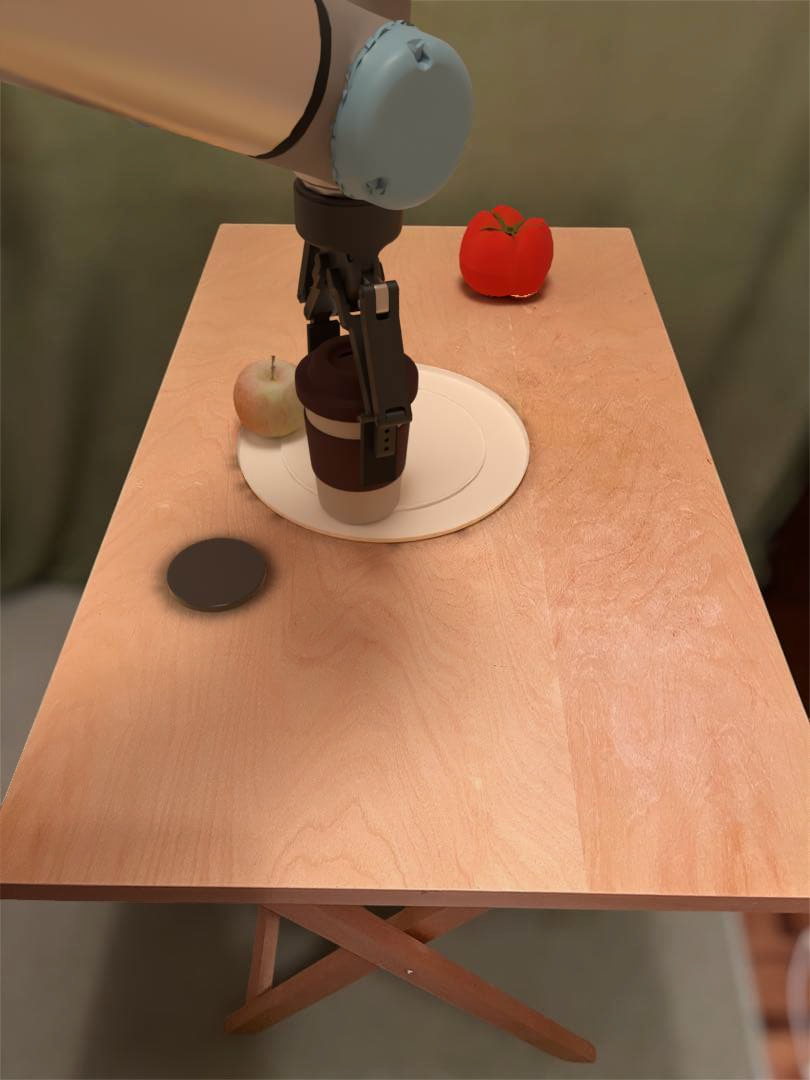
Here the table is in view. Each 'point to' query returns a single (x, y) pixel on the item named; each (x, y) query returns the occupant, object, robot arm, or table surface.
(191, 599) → the slate coaster
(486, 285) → the tomato
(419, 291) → the table surface
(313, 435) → the coffee cup
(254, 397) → the fruit
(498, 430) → the plate
